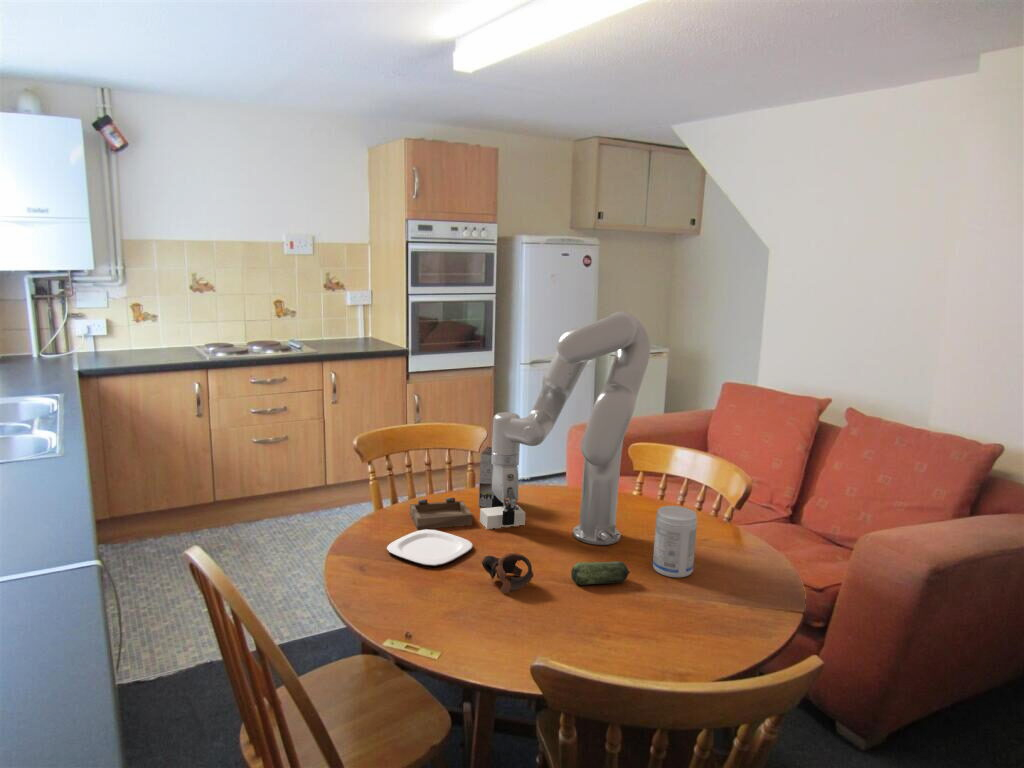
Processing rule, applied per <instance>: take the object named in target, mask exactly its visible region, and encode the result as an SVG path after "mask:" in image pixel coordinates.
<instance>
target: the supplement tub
mask: <svg viewBox="0 0 1024 768" xmlns="http://www.w3.org/2000/svg"><path fill="white" fill-rule="evenodd" d="M697 528H698V514H697V512H695V511H694V510H692V509H690V508H688V507H684V506H680V505H679V506H678V505H666V506H661V507H659V508H658V509H657V511H656V516H655V528H654V541H653V542H654V543H653V555H652V556H653V557H652V568H653V569H654V570H655V572H657V573H658V574H660V575H663V576H665V577H669V578H674V579H675V578H679V579H680V578H686V577H688V576H690V575H691V574H692V573H693V571H694V562H695V551H696V543H697V541H696V539H697Z"/></svg>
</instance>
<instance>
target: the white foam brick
mask: <svg viewBox="0 0 1024 768" xmlns="http://www.w3.org/2000/svg"><path fill="white" fill-rule="evenodd" d="M515 506H516V507H515V516H514V524H513V525H503V524H502V518H503V511H504V506H502V507H491V508H488V507H481V508H480V509H479V522H480V523H481V525H483V527H484V526H485V527H486V528H485V527H484V528H485V529H486V530H492V529H493V528H495V529H502V528H501V527H505V528H511V527H510V526H514V527H520V526H519V525H524V526H525V525H526V511H524V510H523V509H522V508H521V507H520V506H519V505H518V504H515ZM493 530H494V529H493Z"/></svg>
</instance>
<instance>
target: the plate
mask: <svg viewBox="0 0 1024 768" xmlns="http://www.w3.org/2000/svg"><path fill="white" fill-rule="evenodd" d="M473 546H474V544H473V543H472V542H471V541H470V540H469V539H466V538H463V537H461V536H457V535H455V534H452V533H449V532H444V531H441V530H437V529H419V530H415V531H413V532H409V533H408V534H406V535H403V536H402V537H400V538H397V539H396V540H393V541H392V542H391V543H389V544H388V545H387V547H386V550H387V552H389V553H390V554H391V555H394V556H396V557H398V558H400V559H403V560H406V561H409V562H412V563H415V564H418V565H422V566H427V567H429V566H430V567H437V566H442V565H446V564H448V563H451V562H453V561H455V560H457V559H459V558H460V557H462V556H464V555H466V554H467V553H468V552H469V551H471V550H472V549H473Z"/></svg>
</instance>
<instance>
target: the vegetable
mask: <svg viewBox="0 0 1024 768" xmlns="http://www.w3.org/2000/svg"><path fill="white" fill-rule="evenodd" d="M630 573H631V571H630V570H629V568H628V566H627V565H626V564H625V562H623V561H619V560H618V561H617V560H616V561H603V562H601V561H599V562H596V561H595V562H593V561H592V562H584V561H581V562H580V561H579V562H576V563H575V564H574V565H573V567H572V568H571V572H570V576H571V579H572V581H573V582H574V583H576V584H577V585H580V586H586V585H599V584H600V585H601V584H603V585H604V584H621V583H624V582H625V581H626V579H627V578H628V575H629V574H630Z"/></svg>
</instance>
